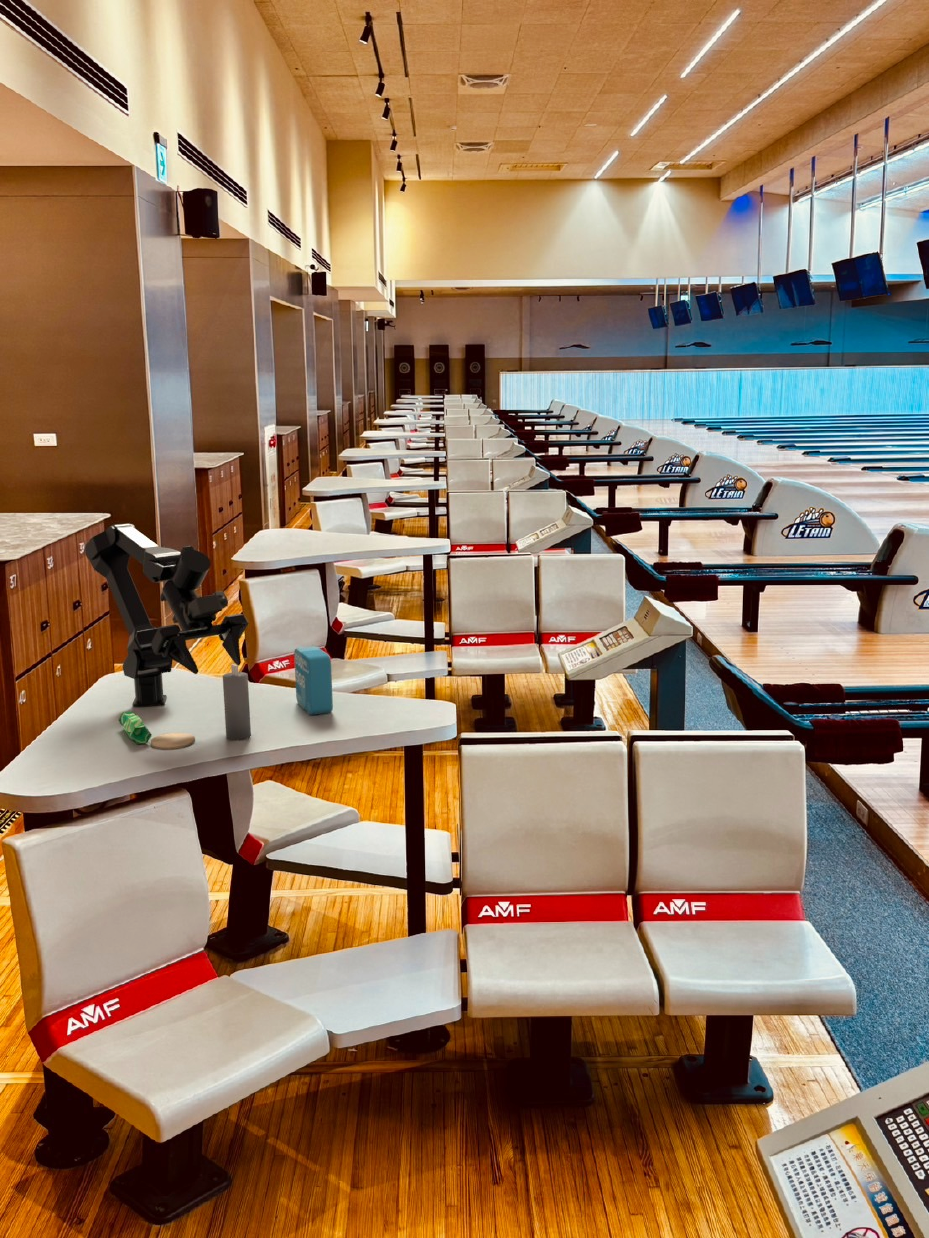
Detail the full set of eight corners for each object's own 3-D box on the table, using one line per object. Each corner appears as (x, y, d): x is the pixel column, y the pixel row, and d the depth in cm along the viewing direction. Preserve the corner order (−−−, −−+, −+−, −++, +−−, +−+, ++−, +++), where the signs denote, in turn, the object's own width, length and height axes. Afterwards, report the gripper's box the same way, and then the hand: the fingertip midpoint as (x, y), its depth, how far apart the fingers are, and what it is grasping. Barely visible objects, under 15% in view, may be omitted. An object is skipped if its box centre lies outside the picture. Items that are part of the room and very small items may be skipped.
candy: (115, 725, 219) (125, 706, 220) (131, 732, 221) (141, 713, 221) (127, 742, 209) (138, 722, 209) (144, 749, 211) (154, 729, 211)
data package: (296, 702, 238) (293, 646, 235) (317, 699, 239) (314, 644, 237) (311, 716, 227) (309, 658, 224) (333, 714, 229) (331, 656, 226)
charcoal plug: (221, 736, 214) (217, 664, 212) (242, 731, 217) (238, 660, 215) (234, 741, 211) (230, 668, 208) (255, 736, 214) (251, 664, 211)
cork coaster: (152, 737, 214) (152, 734, 214) (196, 734, 216) (196, 731, 216) (148, 750, 207) (148, 747, 207) (193, 747, 208) (193, 744, 208)
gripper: (153, 585, 210) (187, 652, 205) (240, 573, 223) (274, 636, 217) (137, 621, 218) (169, 686, 212) (222, 607, 230) (254, 669, 224)
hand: (218, 668), depth 216 cm, fingers open, 9 cm apart
